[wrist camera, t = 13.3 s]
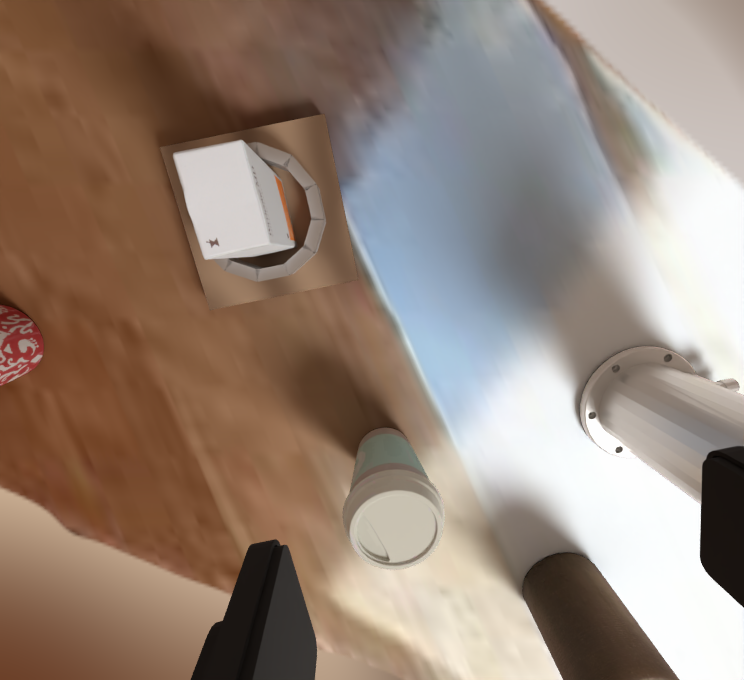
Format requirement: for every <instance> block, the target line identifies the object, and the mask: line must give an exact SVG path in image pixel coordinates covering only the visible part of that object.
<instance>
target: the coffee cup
mask: <svg viewBox="0 0 744 680" xmlns="http://www.w3.org/2000/svg"><path fill="white" fill-rule="evenodd" d="M444 521H445V512H444V503H443V499H442V497H441V495H440V493H439V491H438V489H437V488H436V487H435V486H434V484H433V483H432V482H430V480H429V478H428V477H427V475H426V473H425V471H424V469H423V467H422V465H421V463H420V462H419V460H418V458H417V456H416V454H415V452H414V450H413V448H412V447H411V445H410V443H409V441H408V439H407V438H406V437H405V435H404V434H402V433H401V432H399V431H398V430H395V429H392V428H378V429H375V430H373V431H371V432H369V433H368V434H367V435H365V436H364V438H363V439H362V440H361V442H360V444H359V448H358V452H357V457H356V463H355V468H354V473H353V478H352V483H351V489H350V493H349V495H348V497H347V499H346V501H345V504H344V508H343V523H344V528H345V532H346V535H347V537H348V539H349V541H350V542H351V544H352V546H353V548H354V550H355V551H356V553H357V554H358V555H359V556H360V557H361V558H362V559H363V560H364V561H366V562H367V563H369V564H371V565H373V566H375V567H378V568H382V569H389V570H398V569H405V568H409V567H412V566H415V565H417V564H419V563H421V562H422V561H424V560H425V559H426V558H428V557H429V556H430V555H431V554H432V553H433V552H434V550H435V549H436V548H437V546H438V544H439V542H440V540H441V537H442V531H443V526H444Z"/></svg>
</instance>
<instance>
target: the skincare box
mask: <svg viewBox="0 0 744 680" xmlns="http://www.w3.org/2000/svg"><path fill="white" fill-rule="evenodd" d="M173 159H174V162H175V166H176V169H177V172H178V175H179V179H180V182H181V185H182V189H183V192H184V197H185V202H186V206H187V209H188V212H189V215H190V217H191V220H192V223H193V226H194V229H195V232H196V235H197V238H198V241H199V245H200V248H201V251H202V254H203V257H204V259H206V260H208V259H221V258H222V259H223V258H241V257H255V256H260V255H265V254H270V253H275V252H279V251H283V250H288V249H292V248H297V247H298V244H297V241H296V238H295V234H294V230H293V226H292V222H291V219H290V215H289V211H288V206H287V202H286V197H285V193H284V189H283V184H282V180H281V179H280V178H279V177H278V176H277V175H276V174H275V173H274V172H273V171H272V169H271V168H270V167H269V166H268V165H267V164H266V163H265V162H264V161H263V160H262V159H261V158H260V157H259V156H258V155H257V154H256V153H255V152H254V151H253V150H252V149H251V148H250V147H249V146H248V145H247V144H246V143H245V142H244V141H243V140H237V141H232V142H226V143H221V144H216V145H211V146H206V147H200V148H195V149H190V150H185V151H180V152H175V153H173Z"/></svg>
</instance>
